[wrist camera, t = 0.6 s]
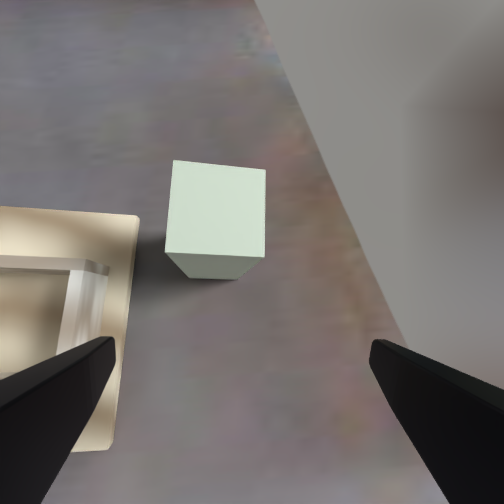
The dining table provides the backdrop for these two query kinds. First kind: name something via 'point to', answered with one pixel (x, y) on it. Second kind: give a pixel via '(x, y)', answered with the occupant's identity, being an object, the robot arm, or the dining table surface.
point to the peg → (216, 219)
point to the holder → (66, 294)
